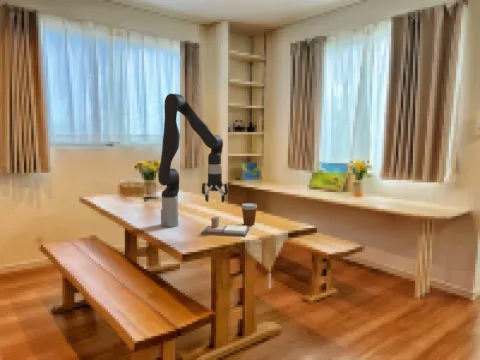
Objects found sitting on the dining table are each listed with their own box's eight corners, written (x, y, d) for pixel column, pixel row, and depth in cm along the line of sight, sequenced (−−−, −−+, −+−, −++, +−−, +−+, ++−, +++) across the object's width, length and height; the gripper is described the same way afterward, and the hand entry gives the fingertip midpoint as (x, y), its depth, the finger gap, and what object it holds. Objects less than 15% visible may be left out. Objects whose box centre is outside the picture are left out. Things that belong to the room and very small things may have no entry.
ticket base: (201, 233, 189) (201, 229, 189) (208, 227, 202) (208, 223, 202) (245, 236, 185) (245, 231, 184) (249, 229, 197) (249, 225, 197)
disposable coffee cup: (247, 227, 202) (247, 206, 201) (237, 223, 210) (238, 204, 208) (260, 224, 208) (260, 204, 206) (250, 221, 216) (250, 202, 214)
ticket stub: (207, 231, 190) (207, 219, 189) (212, 226, 200) (212, 215, 199) (221, 232, 188) (221, 220, 188) (226, 227, 198) (226, 216, 197)
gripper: (200, 173, 188) (200, 202, 190) (226, 173, 185) (226, 203, 187) (204, 171, 195) (204, 200, 197) (229, 171, 192) (229, 201, 195)
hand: (215, 202), depth 192 cm, fingers open, 8 cm apart
